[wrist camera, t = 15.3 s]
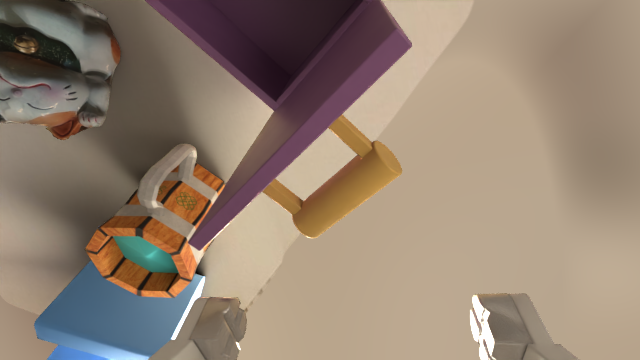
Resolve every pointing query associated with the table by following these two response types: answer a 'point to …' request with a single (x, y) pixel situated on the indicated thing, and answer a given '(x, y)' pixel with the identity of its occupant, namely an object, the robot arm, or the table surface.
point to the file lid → (309, 123)
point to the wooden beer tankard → (157, 228)
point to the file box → (263, 37)
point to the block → (112, 319)
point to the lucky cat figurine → (55, 65)
